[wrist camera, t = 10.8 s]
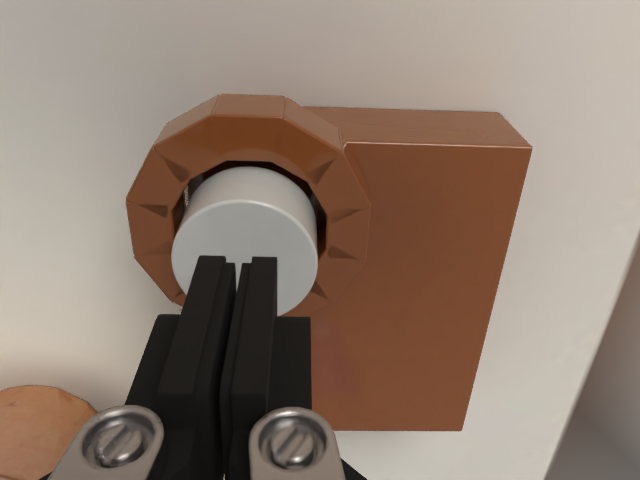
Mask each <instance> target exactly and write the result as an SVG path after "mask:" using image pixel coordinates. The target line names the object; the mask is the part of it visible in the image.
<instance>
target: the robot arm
mask: <svg viewBox="0 0 640 480" xmlns="http://www.w3.org/2000/svg"><path fill="white" fill-rule="evenodd" d="M224 474H225V480H367V479H366V478H365V477H363V476H362V475H361V474H360V473H358V472H357V471H356V470H355V469H353V468H352V467H351V466H350V465H349V464H347V463H346V462H345V461H344V460H342V459H341V458H340V454H339V450H338V446H337V442H336V437H335V434H334V432H333V430H332V427H331V425H330V424H329V423H328V422H327V421H326V420H325V419H324V417H323V416H321V415H319V414H317V413H316V412H314V411H312V381H311V318H310V317H289V316H277V257H257V256H253V257H252V261H251V263H242V266H241V272H240V277H239V283H238V288H236V267H235V263H230V262H226V257H225V256H211V255H200V256H199V257H198V260H197V264H196V267H195V270H194V273H193V276H192V280H191V283H190V286H189V289H188V293H187V296H186V299H185V302H184V305H183V309H182V312H181V315H175V314H160V315H159V316H158V317H157V319H156V321H155V323H154V326H153V329H152V332H151V334H150V337H149V340H148V343H147V345H146V348H145V351H144V353H143V356H142V359H141V362H140V364H139V367H138V370H137V373H136V375H135V378H134V381H133V383H132V386H131V389H130V392H129V394H128V397H127V400H126V402H125V405H122V406H117V407H113V408H109V409H107V410H105V411H102V412H100V413H98V414H96V415H95V416H93V417H92V418H91V419H89V420H88V421H87V422H85V423H84V425H83V426H82V427H81V428H80V429H79V431H78V432H77V433H76V435H75V436H74V438H73V439H72V441H71V442H70V444H69V446H68V447H67V449H66V450H65V452H64V454H63V455H62V457H61V458H60V460H59V461H58V463H57V465H56V466H55V468H54V469H53V471H52V472H50V473H48V474H47V475H45V476H43V477H42V478H40V479H38V480H223V477H224Z"/></svg>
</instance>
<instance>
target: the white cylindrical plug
mask: <svg viewBox="0 0 640 480" xmlns="http://www.w3.org/2000/svg"><path fill="white" fill-rule="evenodd" d="M200 255H211V256H225V257H226V262H230V263H235V267H236V288H238V283H239V277H240V272H241V266H242V263H251V261H252V257H253V256H257V257H277V316H281V315H283V314H285V313H287V312H289V311H290V310H292V309H293V308H295V307H296V306H297V305H298V304H299V303H300V302H301V301H302V300H303V299H304V298H305V297H306V296H307V294H308V293H309V291H310V290H311V288H312V286H313V284H314V282H315V279H316V275H317V270H318V250H317V226H316V217H315V212H314V209H313V206H312V204H311V202H310V200H309V199H308V197H307V196H306V194H305V193H304V192H303V191H302V190H301V188H300V187H299V186H298V185H296V184H295V183H294V182H293V181H292V180H290V179H289V178H287V177H285V176H284V175H282V174H279V173H277V172H275V171H272V170H269V169H265V168H261V167H252V166H246V167H235V168H230V169H227V170H223V171H221V172H219V173H216V174H214V175H213V176H211V177H209V178H208V179H207V180H205V181H204V182H203V183H202V184H201V185H200V186H199V187H198V188H197V189H196V190H195V192H194V193H193V195H192V196H191V198H190V201H189V203H188V205H187V208H186V210H185V213H184V215H183V218H182V220H181V223H180V226H179V228H178V231H177V233H176V236H175V238H174V242H173V245H172V251H171V263H172V269H173V272H174V275H175V278H176V280H177V282H178V284H179V286H180V288H181V289H182V290H183V292H184V293H185V294H186V296H187V293H188V289H189V286H190V283H191V280H192V276H193V273H194V270H195V267H196V264H197V260H198V257H199V256H200Z"/></svg>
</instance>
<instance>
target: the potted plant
mask: <svg viewBox="0 0 640 480" xmlns="http://www.w3.org/2000/svg"><path fill="white" fill-rule="evenodd" d="M96 414H98V413H97V412H96V411H95V410H94V409H93V408H92V407H91V406H90V405H89V404H88V403H87V402H86V401H83V400H81V399H79V398H77V397H75V396H73V395H71V394H69V393H67V392H65V391H62V390H60V389H58V388H54V387H48V386H30V385H28V386H20V387H13V388H8V389H6V390H3V391H0V480H38V479H40V478H42V477H43V476H45V475H47V474H48V473H50V472H52V471H53V469H54V468H55V466H56V465H57V463H58V461H59V460H60V458H61V457H62V455H63V454H64V452H65V450H66V449H67V447H68V446H69V444H70V442H71V441H72V439H73V438H74V436H75V435H76V433H77V432H78V431H79V429H80V428H81V427H82V426H83V425H84V423H85V422H87V421H88V420H89V419H91V418H92V417H93V416H95V415H96Z"/></svg>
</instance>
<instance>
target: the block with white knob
mask: <svg viewBox="0 0 640 480" xmlns="http://www.w3.org/2000/svg"><path fill="white" fill-rule="evenodd" d="M531 152H532V146H531V145H530V144H529V143H528V142H527V141H526V140H525V139H524V138H523V137H522V136H521V135H520V134H519V133H518V132H517V130H516V129H515V128H514V127H513V126H512V125H511V124H510V123H509V122H508V121H507V120H506V119H505V118H504V117H503V116H502V115H501V114H500V113H495V112H464V111H432V110H401V109H370V108H338V107H307V106H301V105H299V104H297V103H296V102H294V101H292V100H291V99H289V98H285V97H284V96H271V95H241V94H221V95H217V96H215V97H213V98H211V99H210V100H208V101H206V102H204V103H202V104H200V105H199V106H197V107H195V108H193V109H192V110H190V111H188V112H186V113H184V114H183V115H181V116H179V117H177V118H175V119H174V120H172V121H170V122H168V123H167V125H166V126H165V127H164V128H163V130H162V131H161V133H160V135H159V136H158V138H157V139H156V141H155V142H154V144H153V146H152V147H151V149H150V151H149V153H148V155H147V157H146V159H145V161H144V163H143V165H142V167H141V169H140V171H139V173H138V174H137V176H136V178H135V180H134V182H133V184H132V186H131V188H130V190H129V192H128V194H127V196H126V208H127V215H128V221H129V228H130V234H131V241H132V247H133V253H134V255H135V256H134V258H135V259H136V260H137V261H138V263H139V264H140V265H141V266H142V267H143V269H144V270H145V271H146V272H147V273H148V275H149V276H150V277H151V278H152V279H153V281H154V282H155V283H156V284H157V285H158V286H159V288H160V289H161V290H162V291H163V292H164V294H165V295H166V296H167V297H168V298H169V300H171V301H172V302H174V303H176V304H179V305H181V306H183V305H184V302H185V299H186V294H185V293H184V292H183V290H182V289H181V288H180V286H179V284H178V282H177V280H176V278H175V275H174V272H173V269H172V263H171V251H172V245H173V242H174V238H175V236H176V233H177V231H178V228H179V226H180V223H181V220H182V218H183V215H184V213H185V210H186V203H185V192H184V190H185V188H186V186H187V191H188V202H189V201H190V198H191V196H192V195H193V193H194V192H195V190H196V189H197V188H198V187H199V186H200V185H201V184H202V183H203V182H204V181H205V180H207V179H208V178H209V177H211V176H213V175H214V174H216V173H219V172H221V171H223V170H227V169H230V168H235V167H246V166H252V167H261V168H265V169H269V170H272V171H275V172H277V173H279V174H282V175H284V176H285V177H287V178H289V179H290V180H292V181H293V182H294V183H295V184H296V185H298V186H299V187H300V188H301V190H302V191H303V192H304V193H305V194H306V196H307V197H308V199H309V200H310V202H311V204H312V206H313V209H314V212H315V217H316V226H317V250H318V270H317V275H316V279H315V282H314V284H313V286H312V288H311V290H310V291H309V293H308V294H307V296H306V297H305V298H304V299H303V300H302V301H301V302H300V303H299V304H298V305H297V306H296V307H295V308H293V309H292V310H290V311H289V312H287V313H285V314H283V315H281V316H289V317H310V318H311V381H312V411H314V412H316V413H317V414H319V415H321V416H323V417H324V419H325V420H326V421H327V422H328V423H329V424H330V425H331V427H332V430H334V431H462V428H463V424H464V420H465V416H466V412H467V408H468V404H469V400H470V396H471V392H472V388H473V384H474V380H475V376H476V372H477V368H478V364H479V360H480V356H481V352H482V348H483V344H484V340H485V336H486V332H487V328H488V324H489V320H490V316H491V312H492V308H493V304H494V300H495V296H496V292H497V288H498V284H499V280H500V276H501V272H502V268H503V264H504V260H505V256H506V252H507V248H508V244H509V240H510V236H511V232H512V228H513V224H514V220H515V216H516V212H517V208H518V204H519V200H520V196H521V192H522V188H523V184H524V180H525V176H526V172H527V168H528V164H529V160H530V156H531Z"/></svg>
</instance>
